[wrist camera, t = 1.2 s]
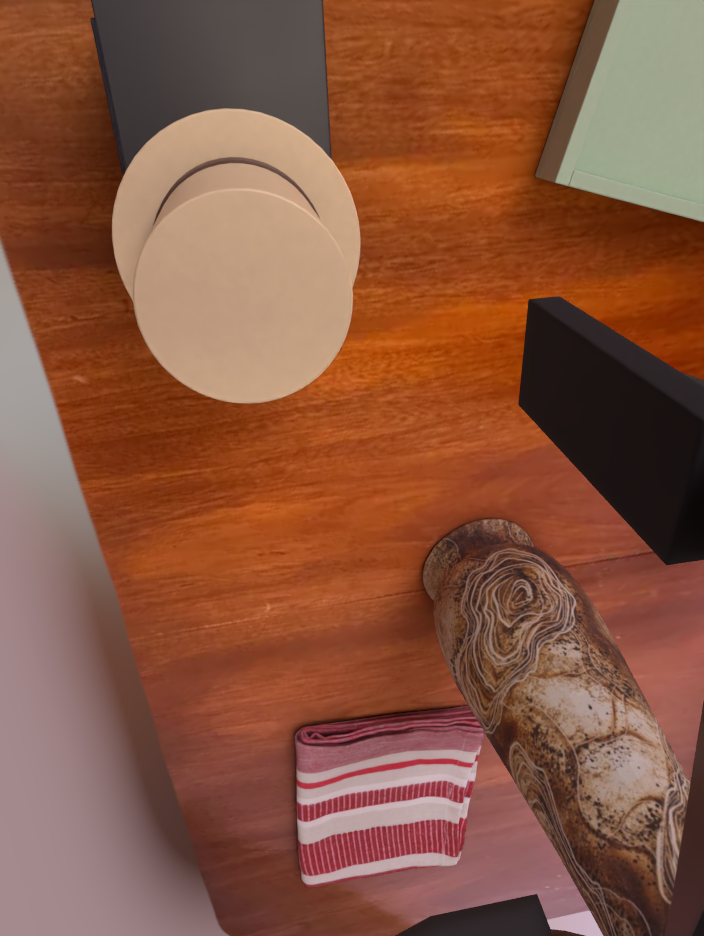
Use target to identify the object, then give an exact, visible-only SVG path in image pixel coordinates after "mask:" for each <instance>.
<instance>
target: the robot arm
mask: <svg viewBox="0 0 704 936" xmlns="http://www.w3.org/2000/svg"><path fill="white" fill-rule="evenodd" d="M519 406H520V407H521V408H522V409H523V410H524V411H525V412H526V413H527V414H528V415H529V417H530V418H531V419H532V420H533V421H534V422H535V423H536V424H537V425H538V426H539V427H540V429H541V430H542V431H543V432H544V433H545V434H546V435H547V436H548V437H549V438H550V439H551V440H552V442H553V443H554V444H555V445H556V446H557V447H558V448H559V449H560V450H561V451H562V452H563V453H564V455H565V456H566V457H567V458H568V459H569V460H570V461H571V462H572V463H573V464H574V465H575V467H576V468H577V469H578V470H579V471H580V472H581V473H582V474H583V475H584V476H585V477H586V478H587V480H588V481H589V482H590V483H591V484H592V485H593V486H594V487H595V488H596V489H597V490H598V491H599V493H600V494H601V495H602V496H603V497H604V498H605V499H606V500H607V501H608V502H609V503H610V504H611V506H612V507H613V508H614V509H615V510H616V511H617V512H618V513H619V514H620V515H621V516H622V518H623V519H624V520H625V521H626V522H627V523H628V524H629V525H630V526H631V527H632V528H633V529H634V531H635V532H636V533H637V534H638V535H639V536H640V537H641V538H642V539H643V540H644V541H645V542H646V544H647V545H648V546H649V547H650V548H651V549H652V550H653V551H654V552H655V553H656V554H657V556H658V557H659V558H660V559H661V560H662V561H663V562H664V563H665V564H666V565H671V564H678V563H685V562H691V561H698V560H704V381H703V380H702V379H699V378H696V377H693V376H690V375H687V374H684V373H681V372H679V371H678V370H676V369H674V368H673V367H671V366H670V365H668V364H666V363H665V362H663V361H662V360H660V359H659V358H657V357H655V356H654V355H652V354H651V353H649V352H647V351H646V350H644V349H643V348H641V347H639V346H638V345H636V344H635V343H633V342H631V341H630V340H628V339H627V338H625V337H623V336H622V335H620V334H619V333H617V332H615V331H614V330H612V329H611V328H609V327H607V326H606V325H604V324H603V323H601V322H599V321H598V320H596V319H595V318H593V317H591V316H590V315H588V314H587V313H585V312H583V311H582V310H580V309H579V308H577V307H575V306H574V305H572V304H571V303H569V302H567V301H566V300H564V299H563V298H561V297H549V298H538V299H529V302H528V313H527V323H526V333H525V343H524V354H523V364H522V374H521V384H520V395H519ZM396 936H584V935H580V934H575V933H572V932H567V931H561V930H551V929H550V927H549V925H548V922H547V919H546V916H545V914H544V911H543V909H542V906H541V903H540V901H539V898H538V896H537V894H535V895H530V896H525V897H521V898H516V899H511V900H506V901H502V902H497V903H492V904H487V905H482V906H478V907H473V908H468V909H463V910H459V911H454V912H449V913H444V914H440V915H435V916H430V917H428V918H427V919H425V920H423V921H421V922H419V923H418V924H416V925H414V926H412V927H410V928H408V929H407V930H405V931H403V932H401V933H399V934H398V935H396ZM665 936H704V703H703V709H702V715H701V721H700V727H699V734H698V740H697V746H696V752H695V759H694V765H693V771H692V777H691V783H690V790H689V796H688V802H687V808H686V815H685V821H684V827H683V833H682V839H681V846H680V852H679V858H678V864H677V871H676V877H675V883H674V889H673V895H672V902H671V908H670V913H669V919H668V923H667V928H666V932H665Z"/></svg>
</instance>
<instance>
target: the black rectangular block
mask: <svg viewBox="0 0 704 936" xmlns="http://www.w3.org/2000/svg"><path fill="white" fill-rule="evenodd" d="M91 2H92V7H93V12H94V17H95V18H91V24H92V29H93V34H94V38H95V43H96V48H97V53H98V58H99V62H100V67H101V72H102V77H103V82H104V86H105V91H106V96H107V101H108V106H109V110H110V115H111V120H112V125H113V130H114V134H115V139H116V144H117V149H118V154H119V158H120V163H121V168H122V173H123V176H124V174H125V171H126V170H127V168H128V167H129V165H130V163H131V162H132V160H133V158H134V157H135V156H136V154H137V153H138V152H139V151H140V150H141V148H142V147H143V146H144V145H145V144H146V143H147V142H148V141H149V140H150V139H151V138H152V137H154V136H155V135H156V134H157V133H158V132H159V131H161V130H162V129H164V128H166V127H167V126H169V125H170V124H172V123H173V122H175V121H177V120H180V119H182V118H184V117H187V116H189V115H191V114H195V113H199V112H203V111H206V110H214V109H223V108H230V109H245V110H251V111H256V112H261V113H264V114H267V115H270V116H273V117H276V118H278V119H280V120H282V121H284V122H286V123H288V124H290V125H292V126H294V127H295V128H297V129H298V130H300V131H301V132H303V133H304V134H305V135H307V136H308V137H309V138H311V139H312V140H313V141H314V142H315V143H316V144H317V145H318V146H320V147H321V148H322V149H323V151H324V152H325V153H326V154H327V155H328V156H329V158H330V159H331V142H330V124H329V105H328V87H327V69H326V50H325V32H324V13H323V0H91ZM341 348H342V347H341ZM340 350H341V349H340Z"/></svg>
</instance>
